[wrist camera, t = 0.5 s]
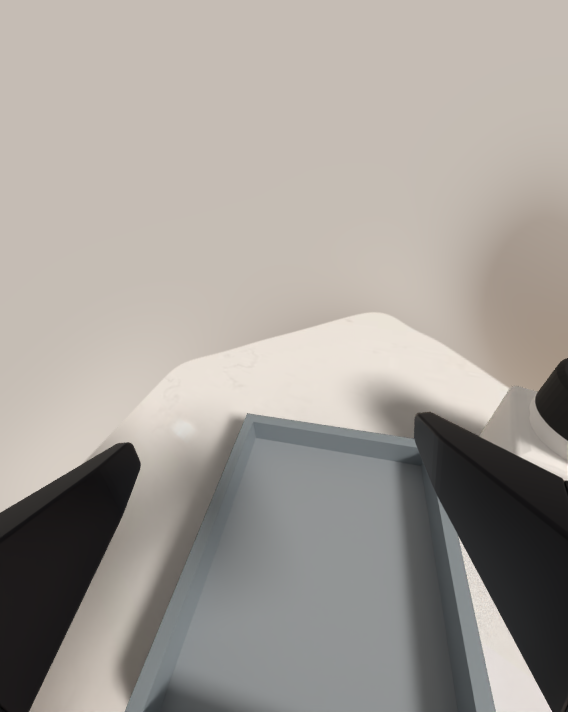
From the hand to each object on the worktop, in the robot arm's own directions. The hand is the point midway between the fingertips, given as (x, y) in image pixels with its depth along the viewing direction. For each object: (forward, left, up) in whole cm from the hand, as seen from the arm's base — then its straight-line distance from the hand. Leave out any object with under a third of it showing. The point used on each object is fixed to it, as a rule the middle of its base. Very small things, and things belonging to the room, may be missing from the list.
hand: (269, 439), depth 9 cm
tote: (+1, -2, -16) cm, 16 cm away
